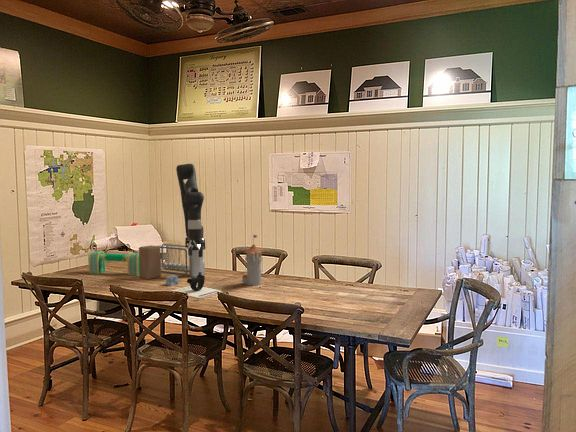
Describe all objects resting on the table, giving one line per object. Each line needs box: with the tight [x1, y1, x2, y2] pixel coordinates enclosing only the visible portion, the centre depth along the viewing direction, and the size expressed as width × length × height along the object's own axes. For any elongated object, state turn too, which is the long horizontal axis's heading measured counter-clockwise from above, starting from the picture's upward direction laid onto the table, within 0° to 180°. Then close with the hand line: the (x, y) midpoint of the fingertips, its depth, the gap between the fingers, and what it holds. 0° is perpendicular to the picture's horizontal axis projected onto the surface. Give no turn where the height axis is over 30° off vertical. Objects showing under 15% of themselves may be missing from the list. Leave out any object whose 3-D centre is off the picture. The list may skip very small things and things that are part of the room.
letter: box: [171, 285, 223, 299], centre depth 267 cm, size 18×24×1 cm
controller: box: [186, 272, 206, 291], centre depth 267 cm, size 4×12×10 cm, turn 150°
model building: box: [242, 234, 263, 286], centre depth 284 cm, size 14×12×30 cm
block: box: [138, 245, 162, 280], centre depth 302 cm, size 10×10×20 cm
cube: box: [165, 274, 179, 287], centre depth 284 cm, size 5×5×5 cm
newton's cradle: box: [157, 243, 189, 276], centre depth 320 cm, size 30×10×18 cm, turn 63°
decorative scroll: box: [87, 250, 140, 276], centre depth 316 cm, size 36×8×15 cm, turn 79°
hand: (195, 256), depth 266 cm, fingers open, 8 cm apart
